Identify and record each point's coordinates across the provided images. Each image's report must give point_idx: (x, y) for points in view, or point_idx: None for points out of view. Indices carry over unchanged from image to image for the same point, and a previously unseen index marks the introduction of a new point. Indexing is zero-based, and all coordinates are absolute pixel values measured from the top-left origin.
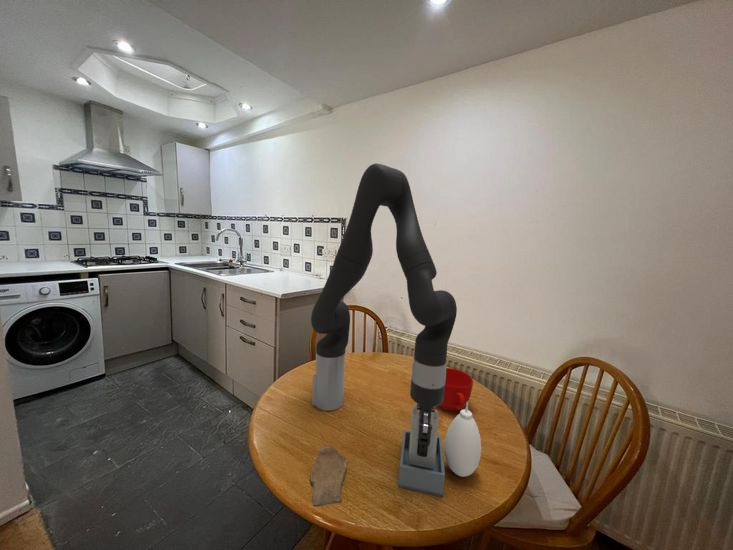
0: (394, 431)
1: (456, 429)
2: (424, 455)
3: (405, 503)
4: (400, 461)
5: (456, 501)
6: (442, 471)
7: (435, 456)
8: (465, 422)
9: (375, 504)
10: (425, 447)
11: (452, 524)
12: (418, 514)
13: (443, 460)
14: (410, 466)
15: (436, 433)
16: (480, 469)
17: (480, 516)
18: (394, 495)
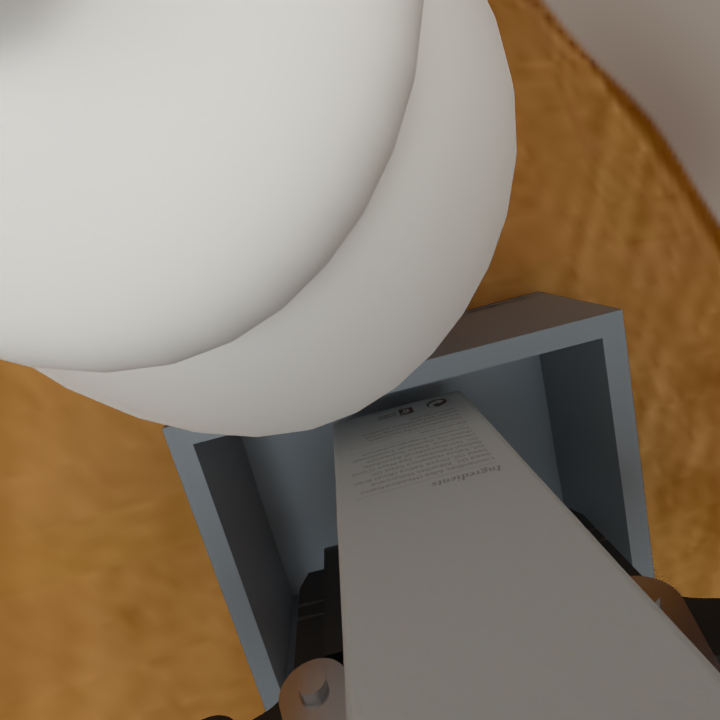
0: (166, 689)
1: (449, 315)
2: (576, 516)
3: (655, 460)
4: None
5: (535, 209)
6: (585, 335)
7: (490, 425)
8: (454, 75)
9: (709, 577)
10: (625, 565)
11: (686, 210)
12: (691, 385)
13: (462, 351)
14: (634, 556)
15: (636, 586)
16: None
17: (579, 55)
18: None
